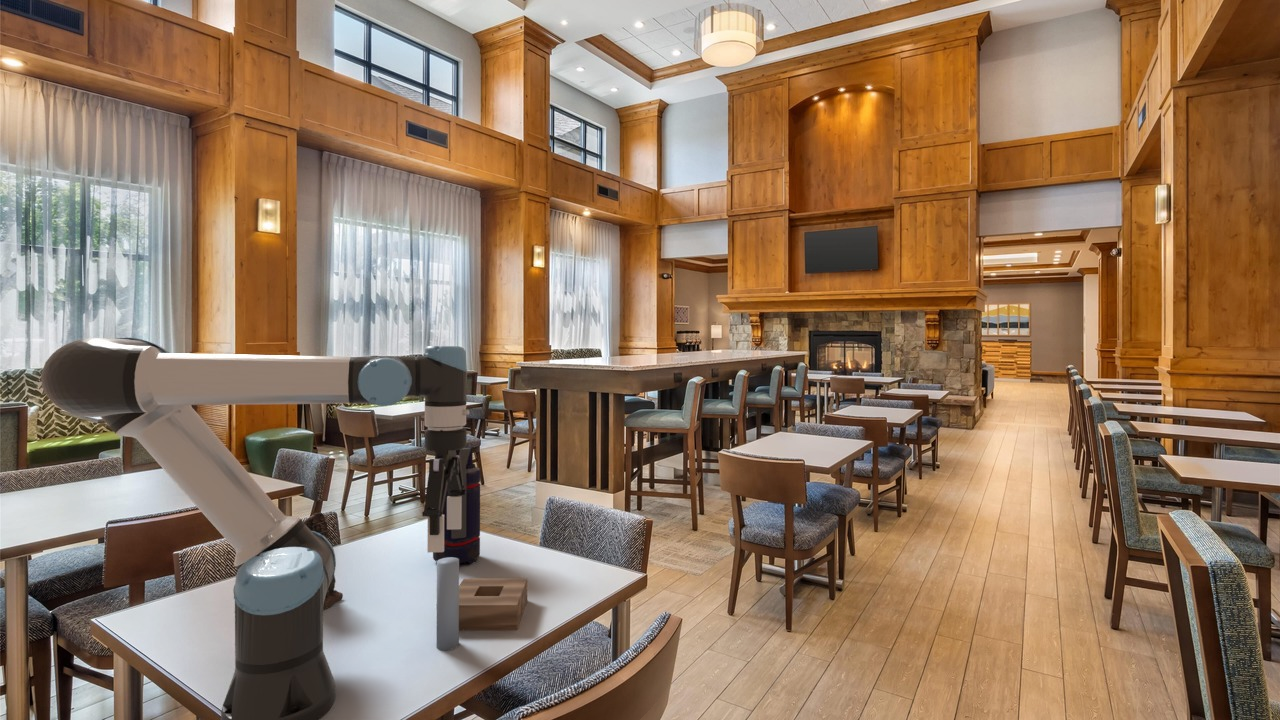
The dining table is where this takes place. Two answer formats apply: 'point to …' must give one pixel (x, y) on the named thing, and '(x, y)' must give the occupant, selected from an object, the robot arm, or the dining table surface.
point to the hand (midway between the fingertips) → (445, 539)
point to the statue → (320, 526)
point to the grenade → (464, 516)
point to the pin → (447, 603)
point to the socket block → (491, 603)
